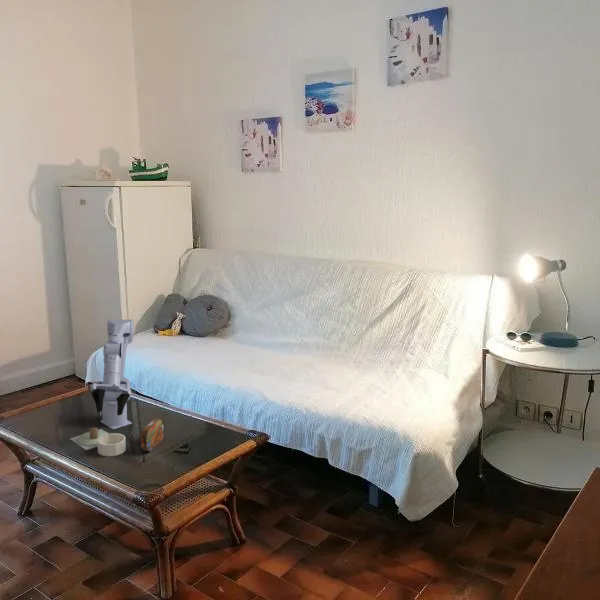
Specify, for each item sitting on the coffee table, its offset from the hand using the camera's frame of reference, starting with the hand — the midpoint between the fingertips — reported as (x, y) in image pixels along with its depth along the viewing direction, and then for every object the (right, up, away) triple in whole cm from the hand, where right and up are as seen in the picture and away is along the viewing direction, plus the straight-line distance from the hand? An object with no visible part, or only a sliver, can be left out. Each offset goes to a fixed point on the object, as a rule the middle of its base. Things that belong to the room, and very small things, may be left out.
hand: (109, 413), depth 202 cm
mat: (-8, -11, +7) cm, 15 cm away
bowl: (+1, -13, -1) cm, 13 cm away
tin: (+14, -12, +5) cm, 19 cm away
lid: (-8, -10, +7) cm, 15 cm away
